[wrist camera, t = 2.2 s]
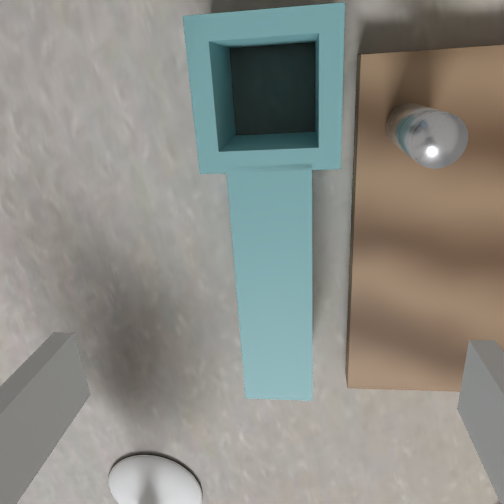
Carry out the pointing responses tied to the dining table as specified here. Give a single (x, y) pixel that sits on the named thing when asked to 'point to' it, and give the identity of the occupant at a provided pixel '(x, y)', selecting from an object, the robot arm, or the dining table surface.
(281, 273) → the link
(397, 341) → the board
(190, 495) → the wineglass
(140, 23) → the dining table surface
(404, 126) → the cylinder
